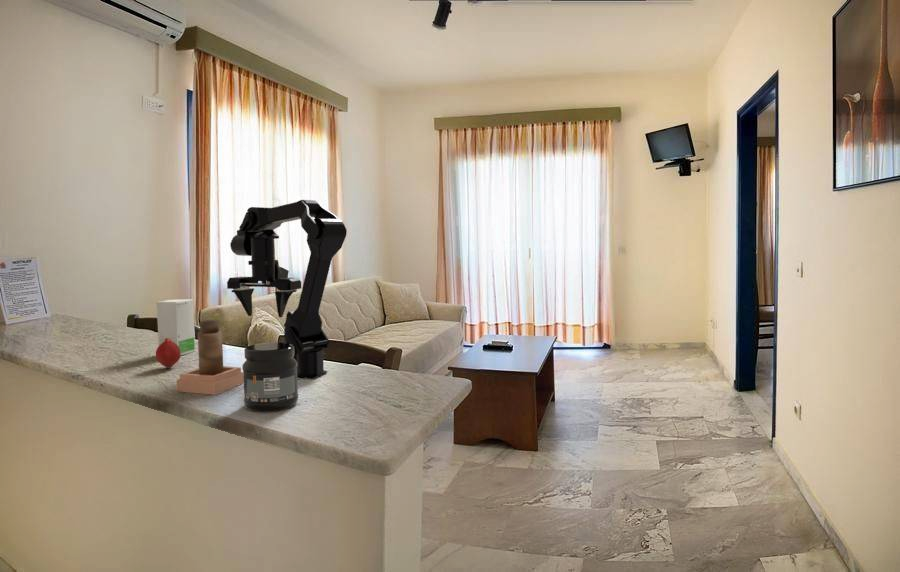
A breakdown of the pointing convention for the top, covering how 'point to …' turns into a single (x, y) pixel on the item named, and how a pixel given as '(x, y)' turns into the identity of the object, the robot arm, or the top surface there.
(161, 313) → the skincare box
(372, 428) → the top surface
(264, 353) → the supplement container
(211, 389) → the mill holder
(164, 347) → the onion
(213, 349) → the pepper mill
